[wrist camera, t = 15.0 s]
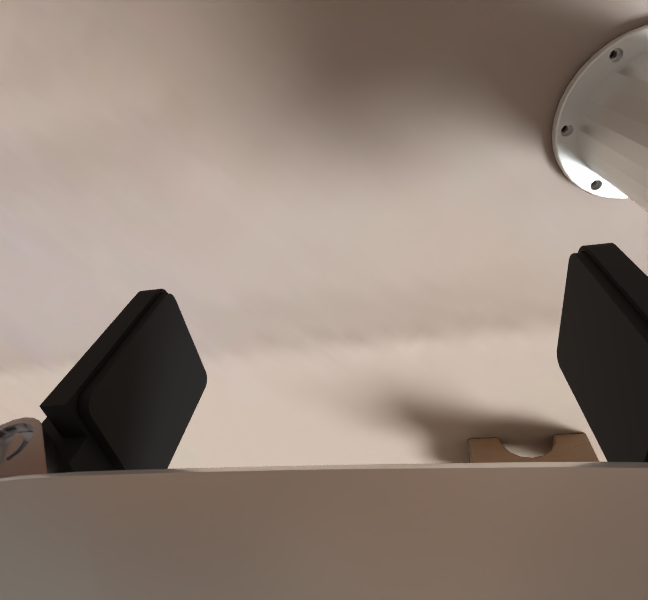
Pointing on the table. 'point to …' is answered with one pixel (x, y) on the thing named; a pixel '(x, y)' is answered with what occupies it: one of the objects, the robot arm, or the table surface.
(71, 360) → the table surface
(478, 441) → the wooden toy
